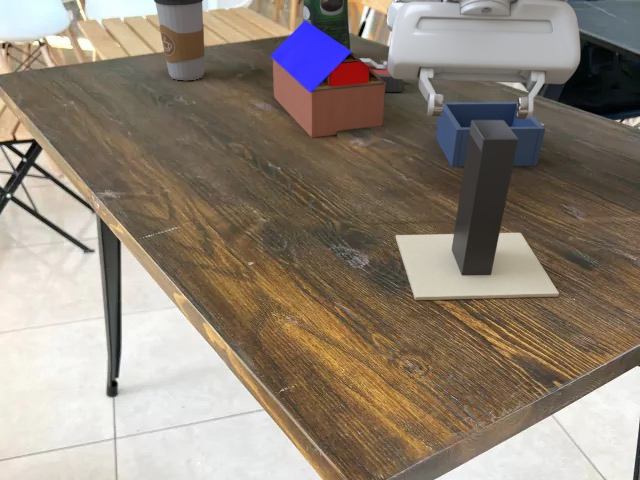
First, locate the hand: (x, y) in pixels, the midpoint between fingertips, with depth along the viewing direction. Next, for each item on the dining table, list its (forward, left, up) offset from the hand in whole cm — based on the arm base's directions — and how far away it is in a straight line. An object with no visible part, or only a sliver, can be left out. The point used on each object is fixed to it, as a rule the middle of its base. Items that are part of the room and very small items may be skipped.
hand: (479, 115), depth 69 cm
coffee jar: (+12, -66, -12) cm, 69 cm away
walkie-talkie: (+8, -51, -12) cm, 53 cm away
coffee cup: (+38, -55, -12) cm, 68 cm away
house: (+14, -35, -12) cm, 40 cm away
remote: (+2, +12, -11) cm, 16 cm away
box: (-7, -17, -12) cm, 22 cm away
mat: (+2, +12, -12) cm, 17 cm away
